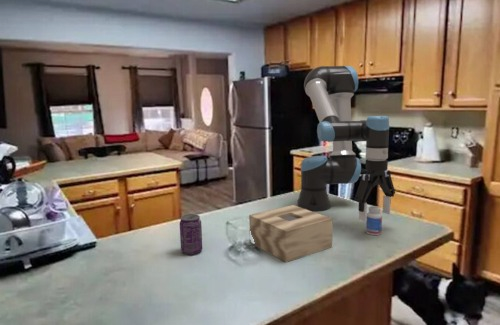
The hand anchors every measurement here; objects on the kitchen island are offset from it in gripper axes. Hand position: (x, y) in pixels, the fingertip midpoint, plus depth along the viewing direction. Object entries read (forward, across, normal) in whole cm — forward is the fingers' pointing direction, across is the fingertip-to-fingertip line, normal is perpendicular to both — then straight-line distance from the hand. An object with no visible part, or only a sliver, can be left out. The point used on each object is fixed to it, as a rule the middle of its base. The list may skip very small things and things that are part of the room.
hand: (374, 216), depth 132 cm
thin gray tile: (-1, -32, +10) cm, 33 cm away
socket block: (+7, -32, +10) cm, 34 cm away
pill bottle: (+7, 0, 0) cm, 7 cm away
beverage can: (+7, -62, +26) cm, 67 cm away
